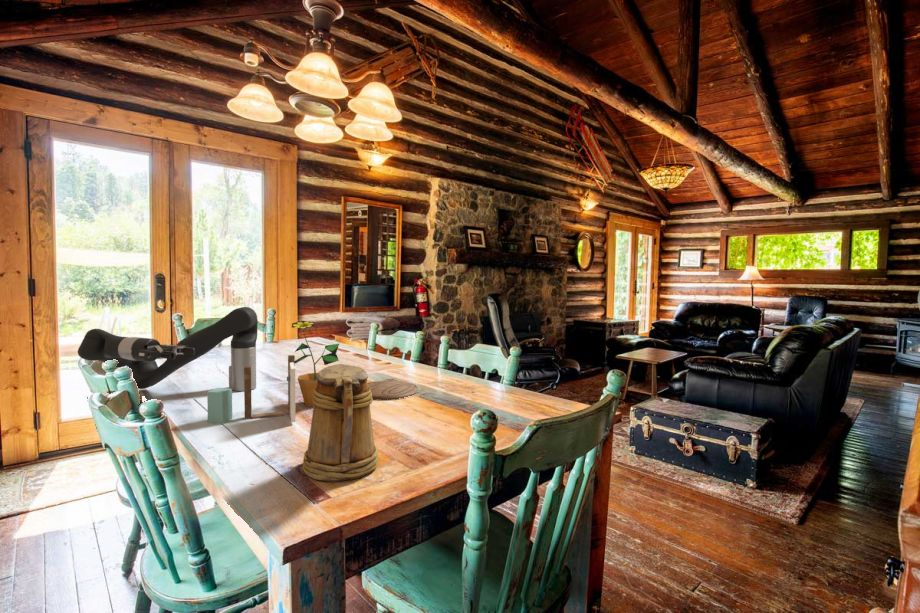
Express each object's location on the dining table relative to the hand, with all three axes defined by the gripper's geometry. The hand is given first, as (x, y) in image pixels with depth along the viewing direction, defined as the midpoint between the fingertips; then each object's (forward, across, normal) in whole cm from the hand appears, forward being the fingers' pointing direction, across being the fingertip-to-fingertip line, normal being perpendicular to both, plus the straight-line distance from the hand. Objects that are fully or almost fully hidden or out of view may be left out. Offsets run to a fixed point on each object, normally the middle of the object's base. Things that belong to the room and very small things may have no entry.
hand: (184, 353), depth 146 cm
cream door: (+34, -6, -19) cm, 39 cm away
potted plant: (+34, -25, -20) cm, 46 cm away
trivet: (+54, -47, -19) cm, 74 cm away
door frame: (+25, -8, -20) cm, 33 cm away
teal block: (+13, 0, -21) cm, 24 cm away
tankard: (+65, +27, -19) cm, 73 cm away
